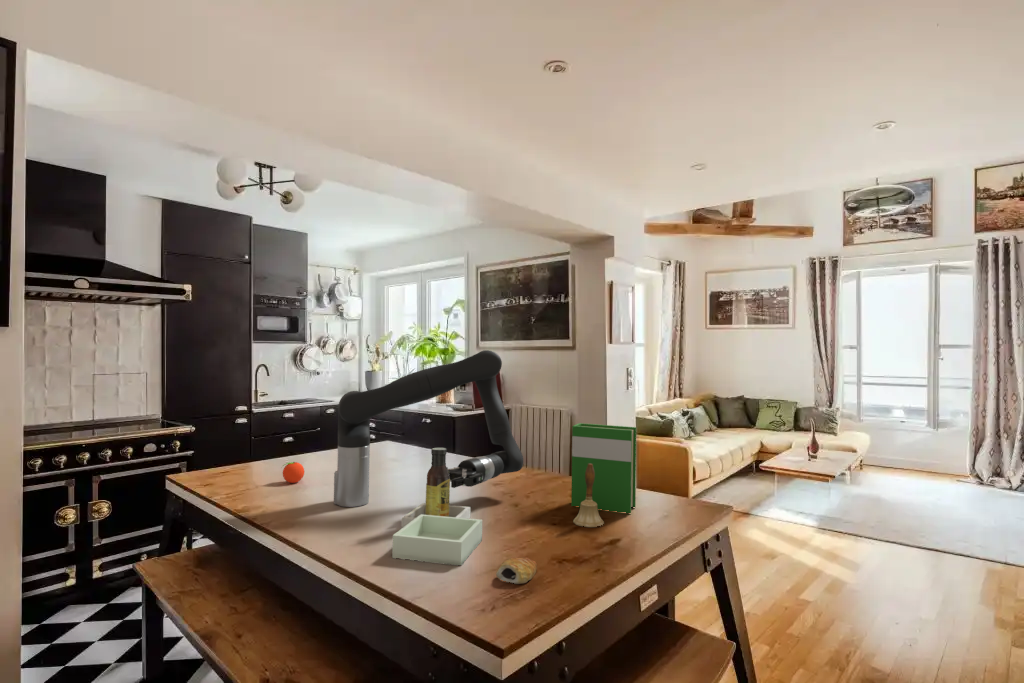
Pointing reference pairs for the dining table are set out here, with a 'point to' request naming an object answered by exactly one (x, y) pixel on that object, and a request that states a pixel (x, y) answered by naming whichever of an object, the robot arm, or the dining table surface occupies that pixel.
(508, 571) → the pastry
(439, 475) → the sauce bottle
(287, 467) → the clementine
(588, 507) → the hand bell
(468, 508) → the off-white frame
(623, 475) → the hardback book
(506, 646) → the dining table surface
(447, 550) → the sage bin
